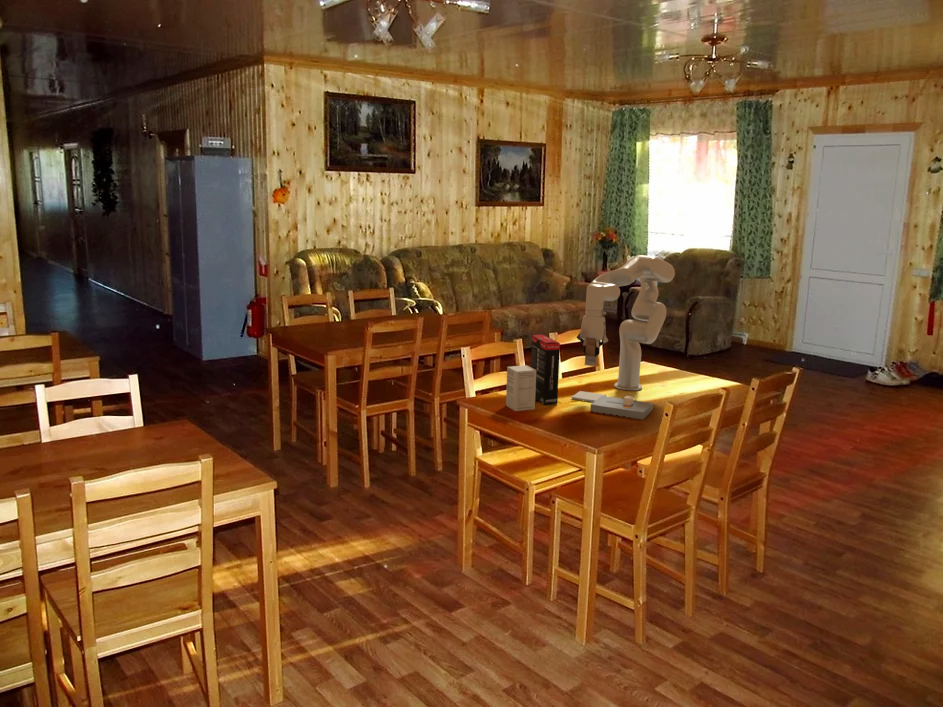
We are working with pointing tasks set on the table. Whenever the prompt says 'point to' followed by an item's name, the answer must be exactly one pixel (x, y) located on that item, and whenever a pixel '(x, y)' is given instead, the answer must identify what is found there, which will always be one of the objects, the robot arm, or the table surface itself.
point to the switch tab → (628, 400)
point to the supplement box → (521, 388)
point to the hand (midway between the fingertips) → (591, 354)
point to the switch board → (621, 407)
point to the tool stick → (590, 352)
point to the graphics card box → (545, 368)
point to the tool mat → (587, 396)
